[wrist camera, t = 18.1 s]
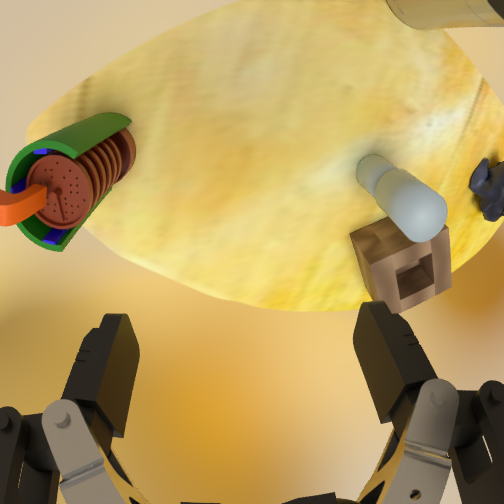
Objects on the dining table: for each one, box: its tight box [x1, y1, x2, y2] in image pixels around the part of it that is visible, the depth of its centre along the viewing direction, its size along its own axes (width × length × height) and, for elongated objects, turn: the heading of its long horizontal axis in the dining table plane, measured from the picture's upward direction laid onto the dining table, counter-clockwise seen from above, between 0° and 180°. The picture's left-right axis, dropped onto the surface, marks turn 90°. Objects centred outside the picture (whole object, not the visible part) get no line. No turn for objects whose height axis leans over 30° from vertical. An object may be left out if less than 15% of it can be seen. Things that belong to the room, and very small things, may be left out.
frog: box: [470, 158, 504, 222], centre depth 37 cm, size 9×11×7 cm
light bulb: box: [356, 155, 447, 242], centre depth 33 cm, size 5×5×14 cm
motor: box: [0, 113, 136, 252], centre depth 27 cm, size 10×9×20 cm
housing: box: [350, 217, 451, 314], centre depth 42 cm, size 12×11×8 cm
